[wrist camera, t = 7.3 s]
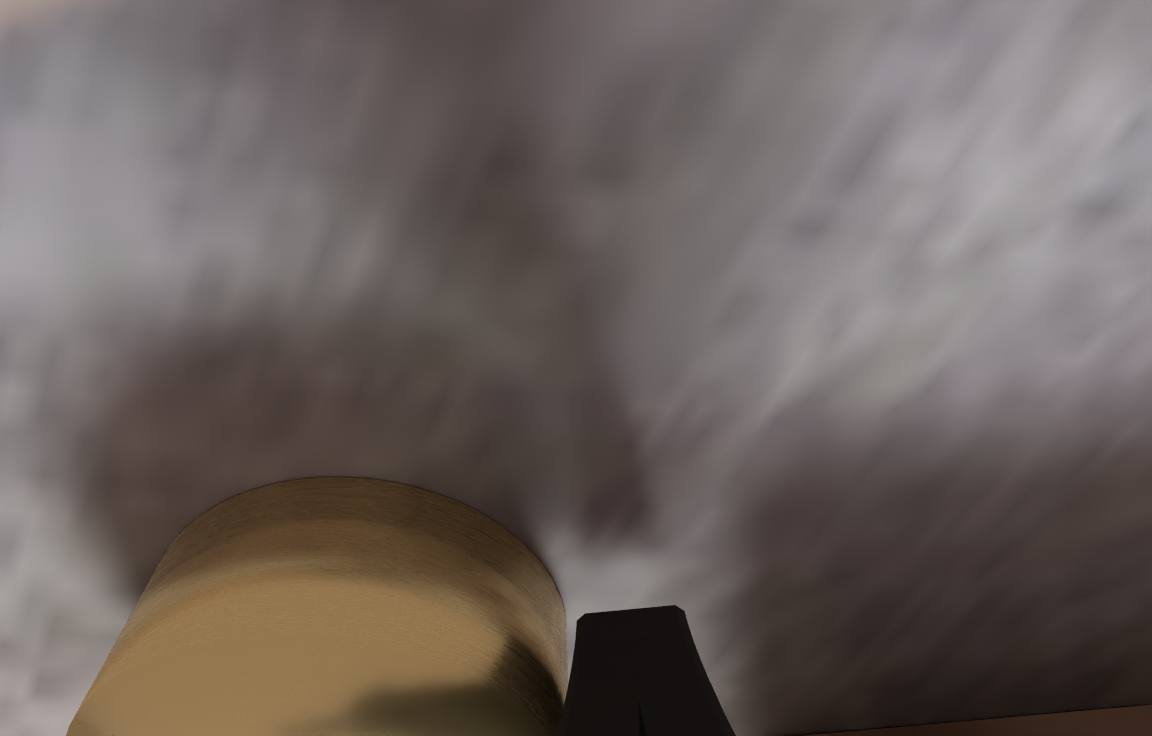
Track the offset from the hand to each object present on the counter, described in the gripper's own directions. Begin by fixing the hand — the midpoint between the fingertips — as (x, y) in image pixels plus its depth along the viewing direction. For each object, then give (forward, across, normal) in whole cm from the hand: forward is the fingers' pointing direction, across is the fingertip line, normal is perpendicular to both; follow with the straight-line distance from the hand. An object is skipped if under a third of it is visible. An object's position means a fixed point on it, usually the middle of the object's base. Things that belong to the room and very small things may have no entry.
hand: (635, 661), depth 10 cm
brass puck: (+1, +4, +1) cm, 4 cm away
